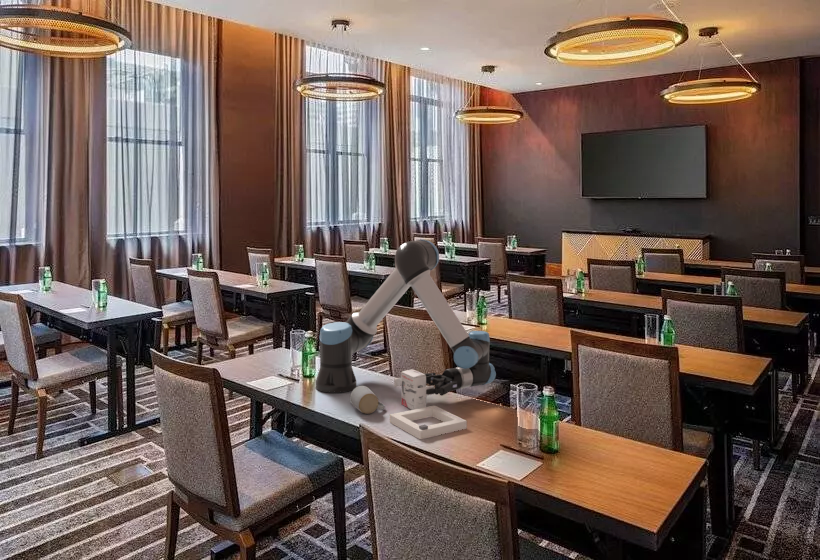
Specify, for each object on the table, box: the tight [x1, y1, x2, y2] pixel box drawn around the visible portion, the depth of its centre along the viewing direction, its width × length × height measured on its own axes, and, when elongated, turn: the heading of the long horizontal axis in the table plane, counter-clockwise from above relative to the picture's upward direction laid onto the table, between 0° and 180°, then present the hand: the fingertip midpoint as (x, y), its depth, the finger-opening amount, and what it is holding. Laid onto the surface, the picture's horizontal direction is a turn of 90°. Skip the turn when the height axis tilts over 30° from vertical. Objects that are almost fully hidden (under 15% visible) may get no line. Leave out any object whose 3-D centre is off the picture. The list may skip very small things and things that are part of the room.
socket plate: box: [389, 405, 468, 440], centre depth 191 cm, size 17×17×3 cm
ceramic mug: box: [349, 385, 386, 415], centre depth 204 cm, size 11×8×8 cm
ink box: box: [400, 368, 427, 410], centre depth 207 cm, size 9×5×12 cm, turn 34°
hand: (405, 387), depth 205 cm, fingers open, 13 cm apart
